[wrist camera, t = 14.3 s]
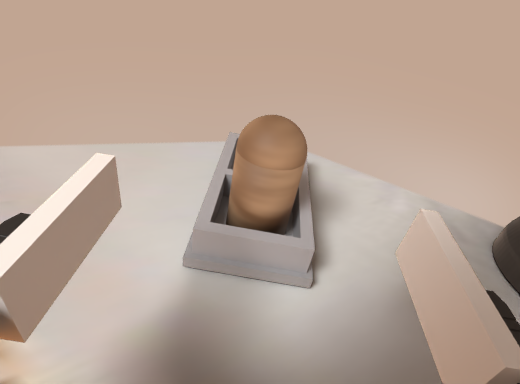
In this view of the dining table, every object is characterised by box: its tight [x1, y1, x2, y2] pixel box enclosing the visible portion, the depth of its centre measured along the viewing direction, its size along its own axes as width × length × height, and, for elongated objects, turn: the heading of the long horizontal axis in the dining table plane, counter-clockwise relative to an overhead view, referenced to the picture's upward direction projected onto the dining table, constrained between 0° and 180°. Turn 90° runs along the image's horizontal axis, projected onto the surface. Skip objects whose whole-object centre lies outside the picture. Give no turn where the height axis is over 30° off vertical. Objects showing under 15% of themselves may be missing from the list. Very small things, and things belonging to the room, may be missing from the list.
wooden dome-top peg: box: [226, 115, 307, 235], centre depth 25 cm, size 5×5×10 cm
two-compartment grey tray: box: [183, 132, 315, 288], centre depth 30 cm, size 18×10×4 cm, turn 176°
